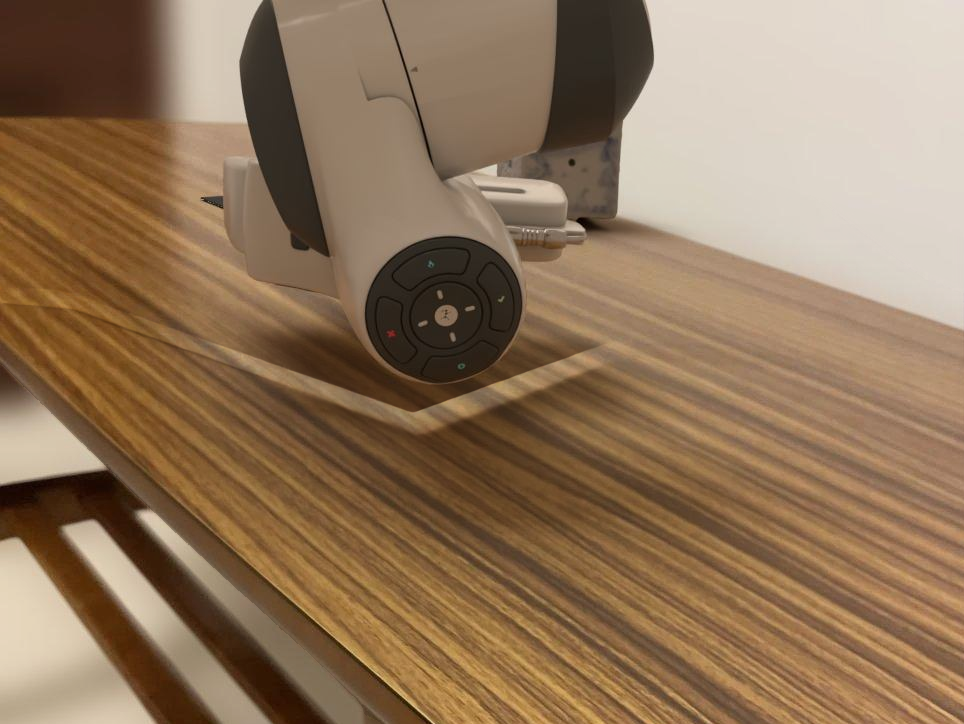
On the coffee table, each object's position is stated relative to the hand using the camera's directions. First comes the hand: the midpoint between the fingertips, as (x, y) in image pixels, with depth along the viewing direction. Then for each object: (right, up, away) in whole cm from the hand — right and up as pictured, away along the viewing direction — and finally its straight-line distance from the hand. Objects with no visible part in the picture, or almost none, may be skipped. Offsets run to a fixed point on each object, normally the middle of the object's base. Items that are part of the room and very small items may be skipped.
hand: (387, 182), depth 79 cm
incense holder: (+11, +6, +34) cm, 37 cm away
